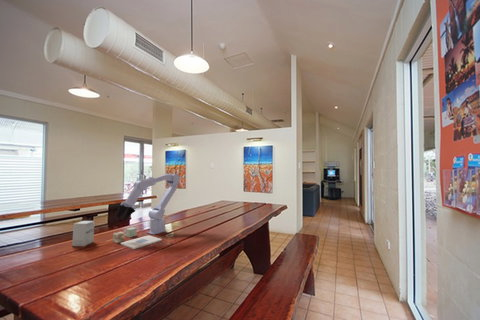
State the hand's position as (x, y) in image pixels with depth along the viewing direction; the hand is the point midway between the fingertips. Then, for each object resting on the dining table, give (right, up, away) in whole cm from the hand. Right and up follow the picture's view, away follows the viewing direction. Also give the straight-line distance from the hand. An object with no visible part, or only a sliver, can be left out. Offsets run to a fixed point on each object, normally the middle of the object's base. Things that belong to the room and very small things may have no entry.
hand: (120, 218), depth 128 cm
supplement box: (-19, -14, -6) cm, 24 cm away
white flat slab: (+14, -14, -2) cm, 20 cm away
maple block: (-1, -14, -1) cm, 14 cm away
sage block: (+1, -15, +10) cm, 18 cm away
